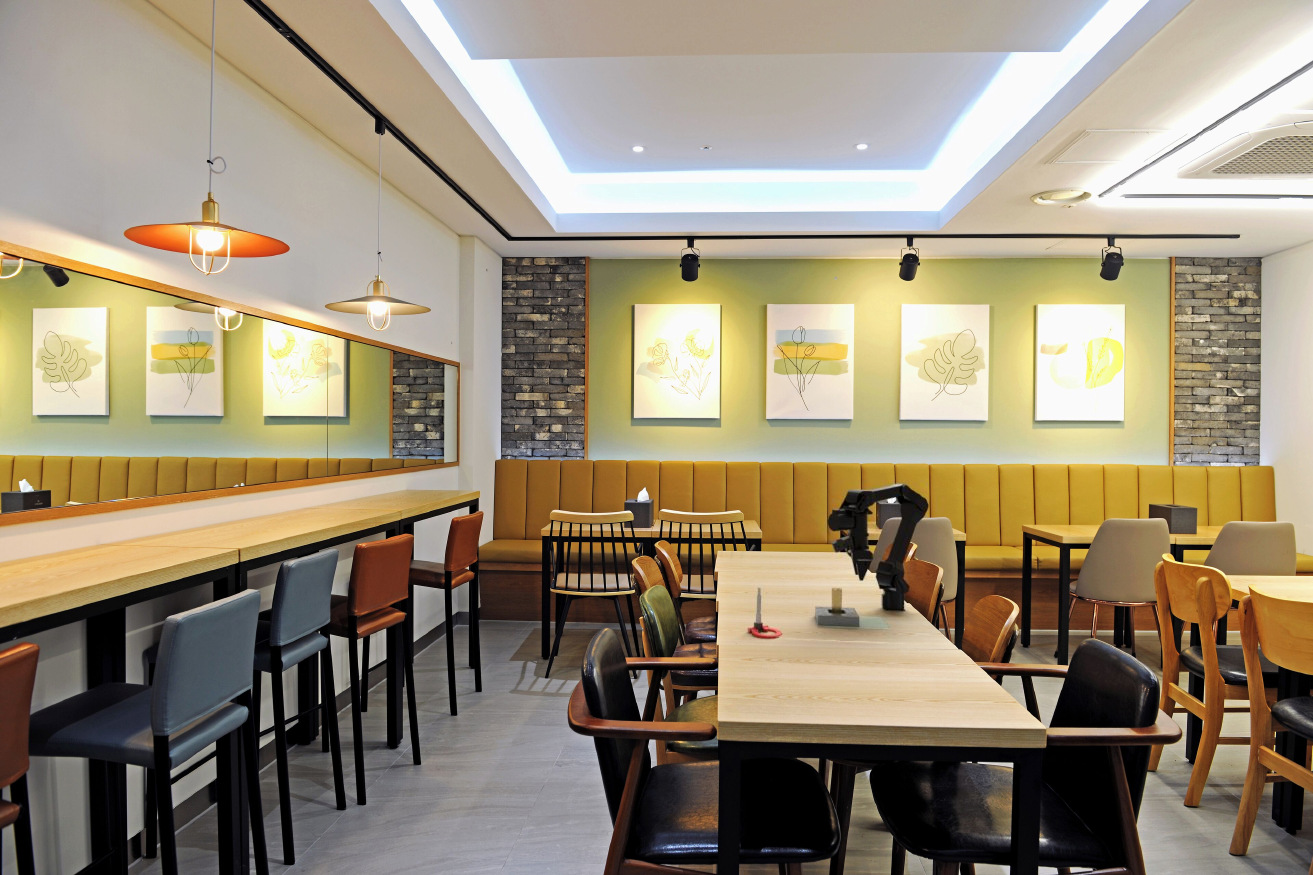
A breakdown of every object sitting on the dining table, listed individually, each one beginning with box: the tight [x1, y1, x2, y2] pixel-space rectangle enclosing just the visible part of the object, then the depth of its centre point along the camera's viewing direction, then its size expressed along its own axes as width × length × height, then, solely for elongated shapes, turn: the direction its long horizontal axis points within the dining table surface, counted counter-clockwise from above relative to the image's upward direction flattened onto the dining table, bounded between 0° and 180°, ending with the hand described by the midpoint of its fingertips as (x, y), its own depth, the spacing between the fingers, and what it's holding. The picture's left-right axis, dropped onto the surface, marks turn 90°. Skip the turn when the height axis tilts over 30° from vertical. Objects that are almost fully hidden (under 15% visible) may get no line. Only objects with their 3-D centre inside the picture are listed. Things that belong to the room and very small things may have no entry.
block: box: [814, 606, 860, 627], centre depth 224 cm, size 12×12×3 cm
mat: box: [815, 616, 892, 631], centre depth 223 cm, size 21×15×1 cm
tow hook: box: [747, 587, 783, 640], centre depth 210 cm, size 8×13×9 cm
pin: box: [831, 587, 843, 614], centre depth 224 cm, size 3×3×10 cm
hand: (859, 577), depth 235 cm, fingers open, 9 cm apart
